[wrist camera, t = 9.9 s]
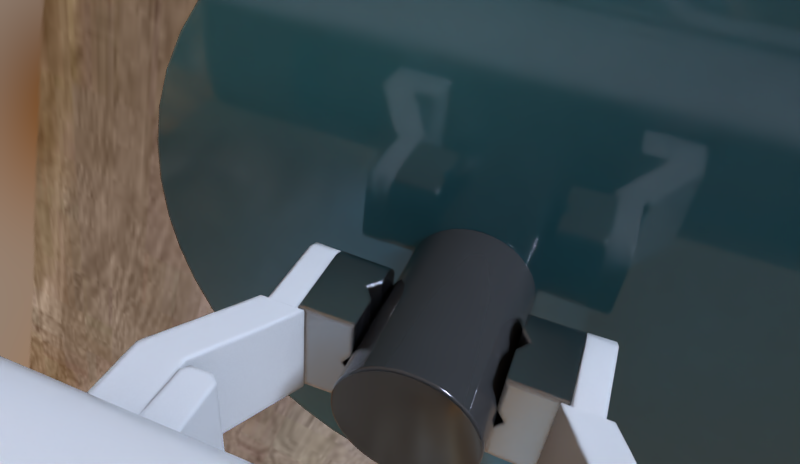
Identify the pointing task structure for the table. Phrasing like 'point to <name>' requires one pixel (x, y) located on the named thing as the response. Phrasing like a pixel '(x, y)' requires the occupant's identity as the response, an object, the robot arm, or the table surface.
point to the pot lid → (510, 202)
